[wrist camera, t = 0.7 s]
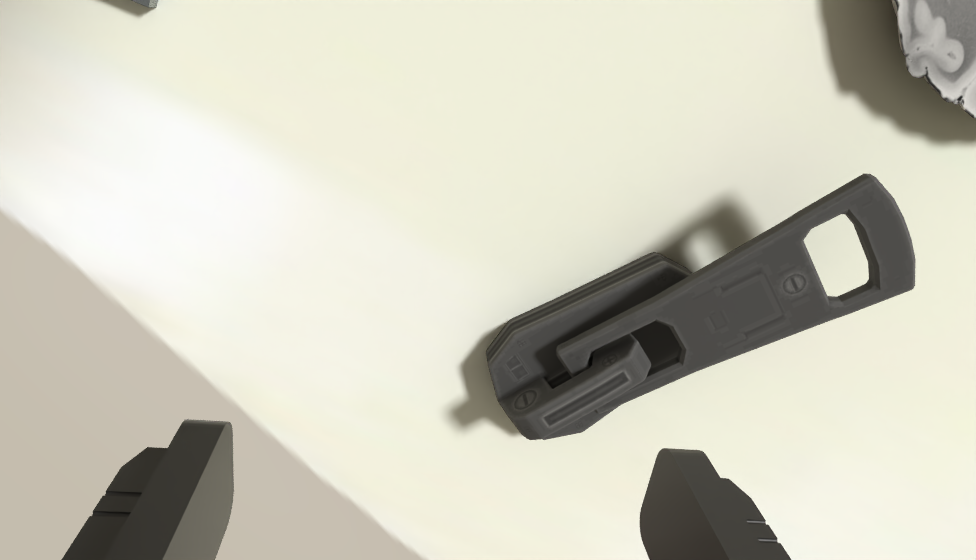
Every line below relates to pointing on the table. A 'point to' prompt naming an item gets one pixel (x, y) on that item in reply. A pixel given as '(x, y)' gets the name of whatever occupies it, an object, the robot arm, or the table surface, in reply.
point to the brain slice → (941, 46)
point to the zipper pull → (687, 315)
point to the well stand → (147, 2)
